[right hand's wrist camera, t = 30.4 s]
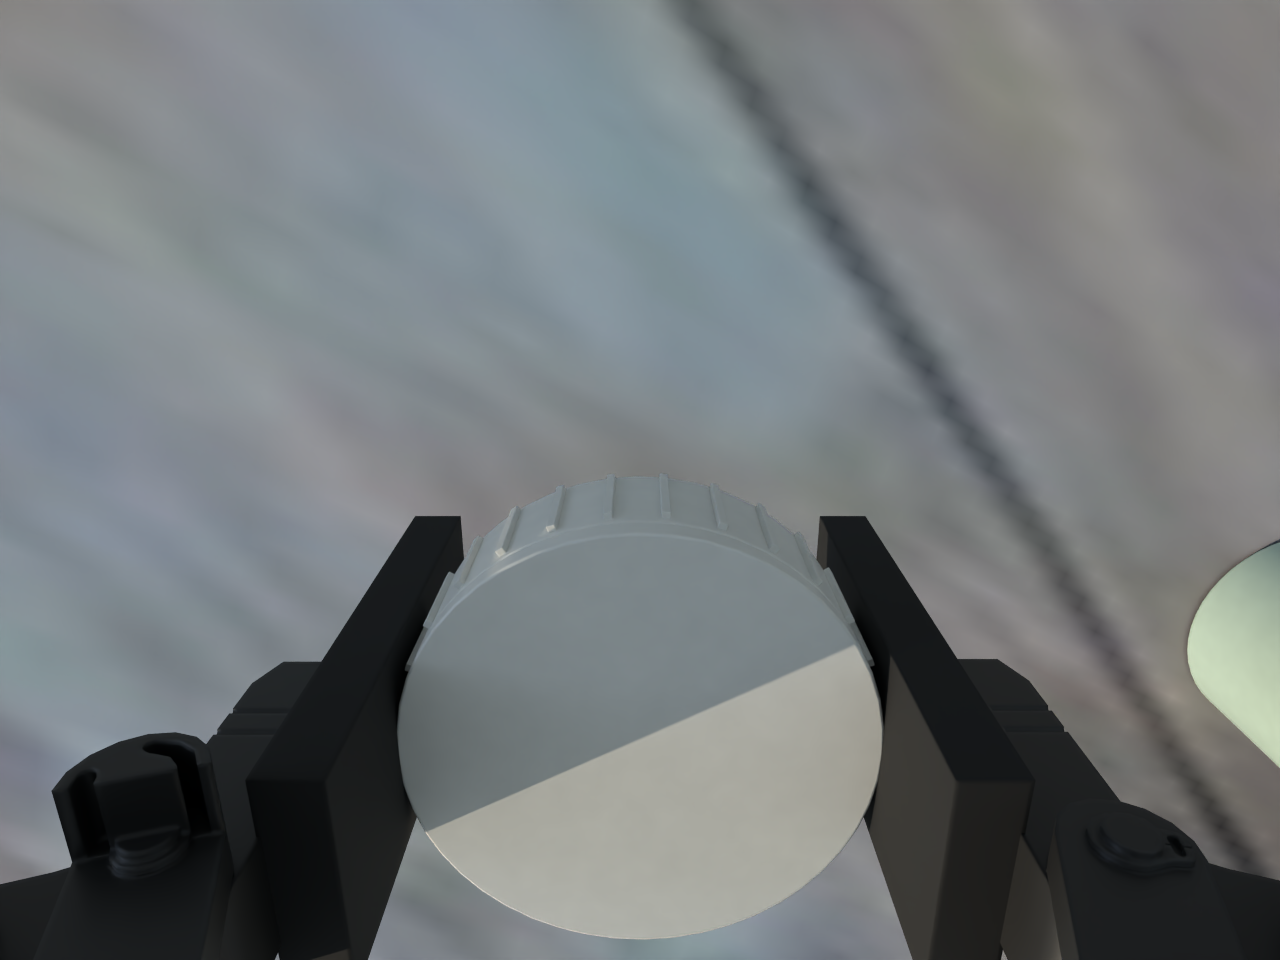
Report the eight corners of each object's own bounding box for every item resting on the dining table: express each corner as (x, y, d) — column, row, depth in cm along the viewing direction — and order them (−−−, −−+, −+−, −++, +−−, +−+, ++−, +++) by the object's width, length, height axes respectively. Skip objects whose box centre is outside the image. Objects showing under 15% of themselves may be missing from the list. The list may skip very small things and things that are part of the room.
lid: (870, 467, 11) (913, 525, 9) (838, 838, 13) (869, 942, 12) (404, 473, 11) (360, 531, 10) (446, 841, 13) (416, 946, 12)
